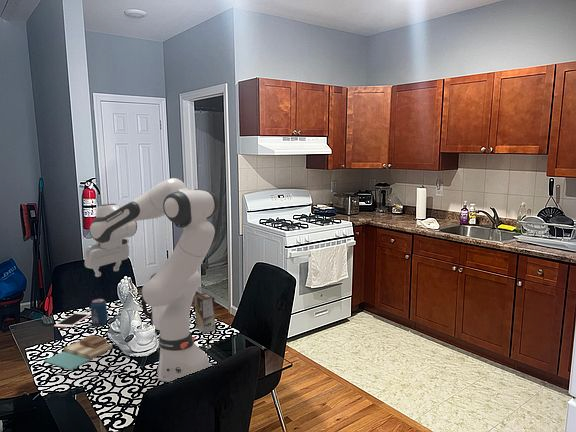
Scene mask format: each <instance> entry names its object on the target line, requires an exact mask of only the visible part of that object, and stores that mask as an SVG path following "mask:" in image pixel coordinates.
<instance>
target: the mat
mask: <svg viewBox="0 0 576 432" xmlns="http://www.w3.org/2000/svg"><path fill="white" fill-rule="evenodd" d="M90 361H91V360H90V359H87V358H84V357H80V356H77V355H74V354H70V353H67V352H64V350H63V351H61V352H59V353H57V354H55V355H53V356H50V357H48V358H46V359H44V360H43V362H44V363H47V364H49V365H53V366H54V367H55V366H56V367H59V368H62V369H65V370H69V371H73V370H75V369H76V367H77V368H78V366H79V367H80V365H81V366H83V365H85V364H86V363H88V362H90ZM84 363H85V364H84ZM82 364H83V365H82Z"/></svg>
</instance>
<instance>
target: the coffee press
mask: <svg viewBox="0 0 576 432" xmlns="http://www.w3.org/2000/svg"><path fill="white" fill-rule="evenodd" d="M156 273H157V272H155V273H153V274H152V275H151V276H150V278H149V280H150V279H151V278H152V277H153V276H154V275H155V274H156ZM149 280H148V281H149ZM141 306H142V312H143V313H144V315H145V316H147V317H148V318H151V326H153V325H154V326H155V328H156V329H155V330H157V331H160V325H159V317H160V314H161V312H162V311H163V310H164V308H165V306H166V305H164V306H158V307H151V306H150V312H149V310H148V308H147V303H146V302H145V301H144V299H143V296H142V295H141Z"/></svg>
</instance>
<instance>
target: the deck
mask: <svg viewBox="0 0 576 432" xmlns="http://www.w3.org/2000/svg"><path fill="white" fill-rule="evenodd" d="M112 348H113V344H112V343H107V342H106V343H105V344H103V345H101V346H99V347H97V348H95V349H94V348H90V347H87V346H83V345H80V340H78V341H75V342H73V343H71V344H69V345H67V346H64V347H63V351H64V352H67V353H70V354H74V355H77V356H80V357H84V358H87V359H90V361H92V360H94V359H96V358H98V357H100V356H102V355H103V353H104V354H105V352H106V351H108V350H110V349H112ZM112 350H113V349H112ZM110 351H111V350H110ZM108 352H109V351H108ZM106 353H107V352H106ZM101 354H102V355H101ZM99 355H100V356H99ZM97 356H98V357H97ZM93 358H94V359H93Z"/></svg>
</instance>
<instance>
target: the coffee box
mask: <svg viewBox="0 0 576 432" xmlns="http://www.w3.org/2000/svg"><path fill="white" fill-rule="evenodd" d="M215 306H216V305H215V297H214V296H212V295H211V294H208V293H207V292H203V293H199V294H195V295H194V310H195V328H196V329H198V330H199V331H200V332H202V334H205V333H209V332H213V331H215V330H216V309H215V308H216V307H215Z"/></svg>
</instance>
